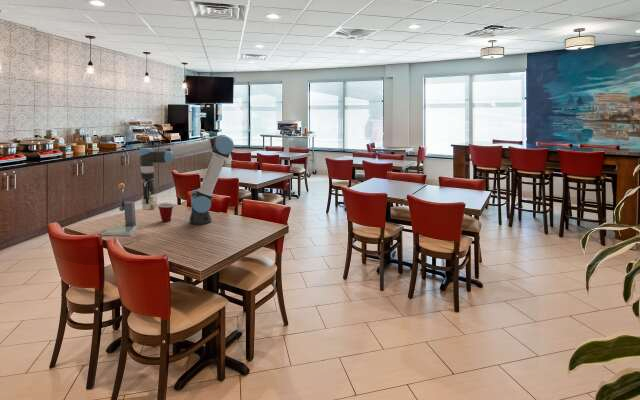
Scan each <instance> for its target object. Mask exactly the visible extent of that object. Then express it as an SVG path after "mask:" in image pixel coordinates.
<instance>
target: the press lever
mask: <svg viewBox="0 0 640 400" xmlns="http://www.w3.org/2000/svg"><path fill="white" fill-rule="evenodd" d="M117 187H118V189H119V201H120V207H119V209H118V210H119V211H120V212H123V211H124V203H125V197H124V196H125V194H124V188H125V184H124V183H123V182H120V183H118V185H117Z"/></svg>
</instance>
